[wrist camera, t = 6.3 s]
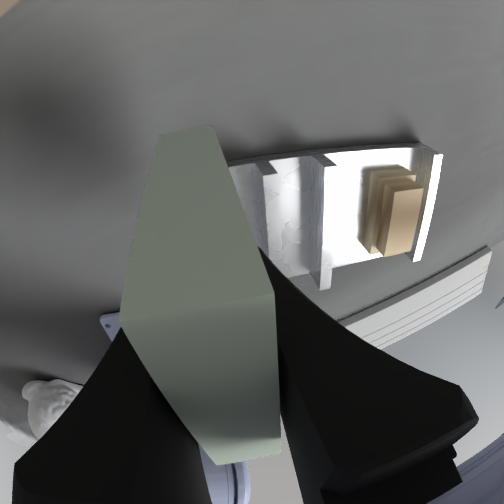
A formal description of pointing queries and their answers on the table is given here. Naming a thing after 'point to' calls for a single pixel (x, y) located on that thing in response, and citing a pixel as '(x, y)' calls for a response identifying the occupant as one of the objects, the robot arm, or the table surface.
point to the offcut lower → (380, 202)
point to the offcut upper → (398, 217)
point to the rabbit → (47, 402)
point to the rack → (326, 203)
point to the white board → (421, 303)
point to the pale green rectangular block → (203, 301)
